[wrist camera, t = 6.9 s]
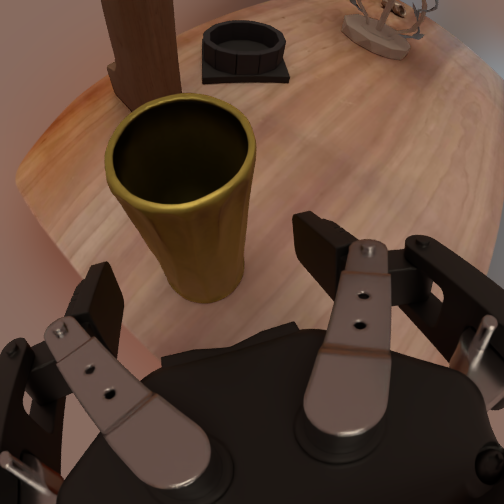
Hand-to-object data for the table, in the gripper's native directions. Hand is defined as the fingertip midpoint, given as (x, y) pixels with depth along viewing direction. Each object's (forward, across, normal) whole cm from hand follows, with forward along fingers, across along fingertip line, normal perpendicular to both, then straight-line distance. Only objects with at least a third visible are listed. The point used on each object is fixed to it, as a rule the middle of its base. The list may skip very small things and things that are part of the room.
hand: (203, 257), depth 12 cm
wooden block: (+23, +2, -9) cm, 25 cm away
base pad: (+26, -10, -12) cm, 31 cm away
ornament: (+46, -56, -32) cm, 79 cm away
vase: (+9, 0, +5) cm, 11 cm away
